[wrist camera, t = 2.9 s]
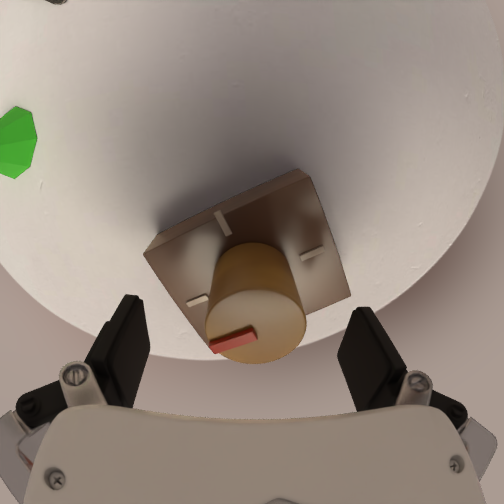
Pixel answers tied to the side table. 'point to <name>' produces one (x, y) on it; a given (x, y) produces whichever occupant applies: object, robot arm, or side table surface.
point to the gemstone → (16, 142)
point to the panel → (252, 231)
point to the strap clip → (56, 1)
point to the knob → (254, 306)
